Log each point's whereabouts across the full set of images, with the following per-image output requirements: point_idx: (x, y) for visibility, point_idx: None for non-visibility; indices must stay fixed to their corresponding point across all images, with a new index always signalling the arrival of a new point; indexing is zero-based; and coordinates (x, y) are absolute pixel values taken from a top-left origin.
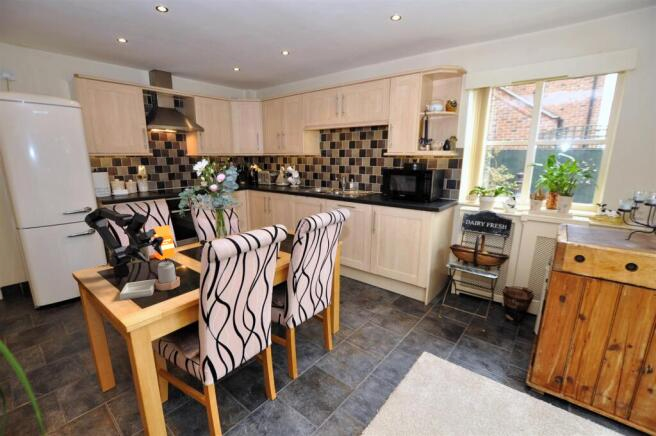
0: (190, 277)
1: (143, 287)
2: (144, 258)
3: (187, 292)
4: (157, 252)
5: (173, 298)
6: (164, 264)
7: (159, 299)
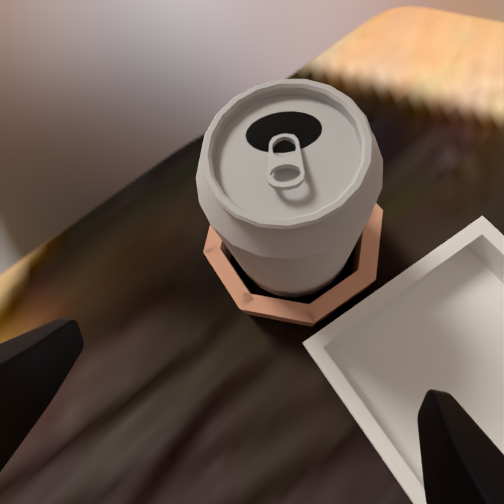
0: (145, 201)
1: (406, 382)
2: (487, 447)
3: (341, 75)
4: None
5: (434, 89)
6: (301, 152)
7: (480, 150)
